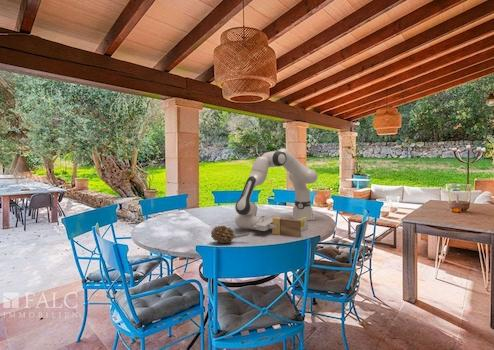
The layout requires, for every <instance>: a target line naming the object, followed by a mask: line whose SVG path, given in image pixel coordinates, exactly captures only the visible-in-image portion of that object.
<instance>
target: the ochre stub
mask: <svg viewBox="0 0 494 350" xmlns="http://www.w3.org/2000/svg"><path fill="white" fill-rule="evenodd" d="M271 218H272V225H277V228H271V229H272V232H271V233H272V234H274V235H280V219H282V218H283V217H275V216H274V217H271ZM280 236H281V235H280Z"/></svg>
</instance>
